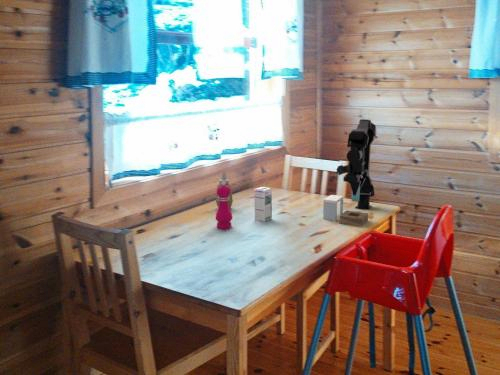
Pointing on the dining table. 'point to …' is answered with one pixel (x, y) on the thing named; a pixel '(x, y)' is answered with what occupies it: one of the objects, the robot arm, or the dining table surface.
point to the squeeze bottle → (226, 185)
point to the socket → (353, 218)
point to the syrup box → (263, 203)
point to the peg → (356, 196)
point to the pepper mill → (223, 207)
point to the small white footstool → (332, 207)
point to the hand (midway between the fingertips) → (355, 194)
